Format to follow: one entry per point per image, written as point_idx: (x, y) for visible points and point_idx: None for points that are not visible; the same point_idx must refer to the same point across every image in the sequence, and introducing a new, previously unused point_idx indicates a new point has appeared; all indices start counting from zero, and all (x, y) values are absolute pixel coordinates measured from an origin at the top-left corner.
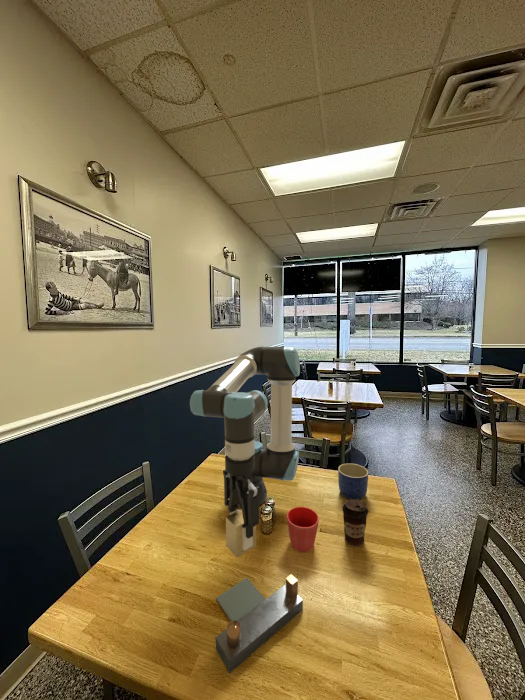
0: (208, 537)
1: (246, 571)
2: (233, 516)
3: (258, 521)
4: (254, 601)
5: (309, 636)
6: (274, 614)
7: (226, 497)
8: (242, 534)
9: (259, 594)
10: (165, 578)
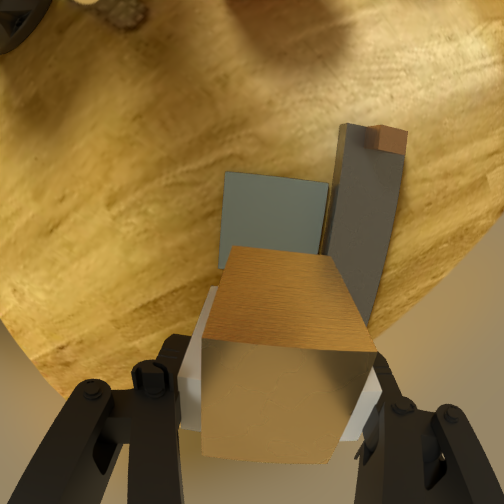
0: (46, 172)
1: (203, 154)
2: (232, 436)
3: (467, 425)
4: (297, 206)
5: (433, 176)
6: (379, 217)
7: (103, 487)
8: None
9: (292, 183)
10: (100, 312)
